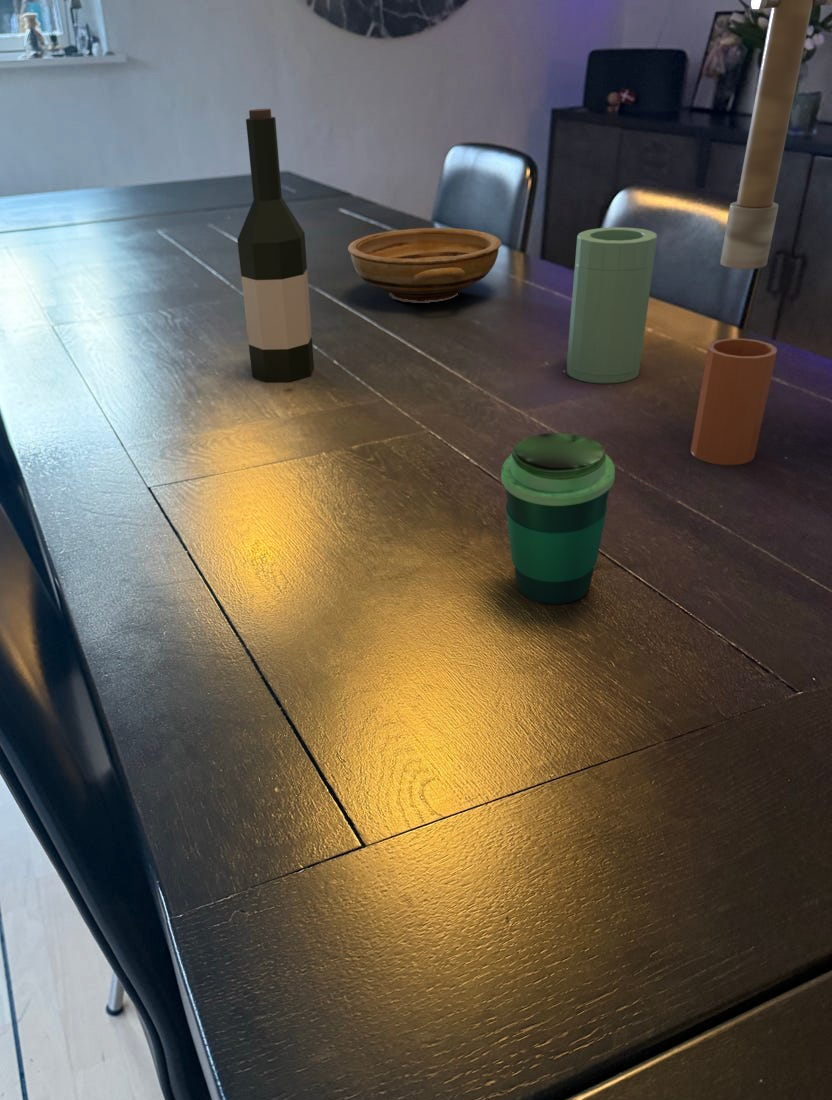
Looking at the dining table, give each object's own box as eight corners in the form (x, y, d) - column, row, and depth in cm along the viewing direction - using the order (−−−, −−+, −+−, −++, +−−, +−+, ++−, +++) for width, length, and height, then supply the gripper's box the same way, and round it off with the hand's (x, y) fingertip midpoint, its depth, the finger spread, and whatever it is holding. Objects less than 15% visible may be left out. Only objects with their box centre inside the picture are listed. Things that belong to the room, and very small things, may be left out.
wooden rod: (755, 257, 86) (812, -34, 74) (774, 267, 83) (837, -35, 70) (713, 260, 86) (762, -32, 74) (730, 270, 83) (785, -33, 70)
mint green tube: (626, 358, 120) (642, 225, 111) (648, 381, 112) (667, 240, 103) (558, 363, 119) (569, 229, 110) (576, 385, 112) (589, 244, 103)
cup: (619, 587, 73) (639, 443, 66) (565, 632, 68) (580, 482, 62) (532, 557, 78) (541, 420, 71) (475, 597, 73) (480, 454, 66)
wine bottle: (258, 386, 117) (229, 115, 100) (246, 367, 124) (217, 110, 107) (322, 377, 119) (304, 109, 102) (306, 358, 126) (287, 104, 109)
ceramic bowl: (523, 312, 140) (526, 256, 135) (364, 325, 138) (362, 269, 133) (474, 268, 164) (475, 220, 160) (339, 280, 162) (336, 231, 158)
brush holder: (738, 444, 95) (760, 336, 89) (764, 468, 90) (788, 355, 84) (681, 448, 95) (698, 340, 89) (703, 472, 90) (723, 360, 84)
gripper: (950, -226, 69) (897, 0, 76) (677, -212, 68) (652, 14, 76) (1005, -246, 63) (942, -1, 71) (710, -232, 63) (679, 13, 71)
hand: (790, 7), depth 74 cm, fingers closed on wooden rod, 3 cm apart
